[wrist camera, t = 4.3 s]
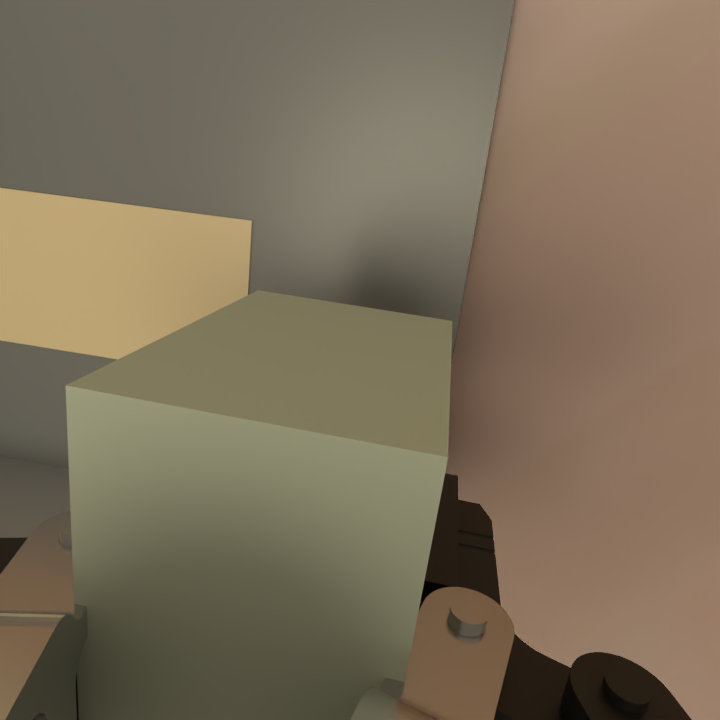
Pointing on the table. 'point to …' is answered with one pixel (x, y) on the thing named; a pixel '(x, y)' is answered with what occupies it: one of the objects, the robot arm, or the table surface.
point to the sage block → (257, 510)
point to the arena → (221, 180)
